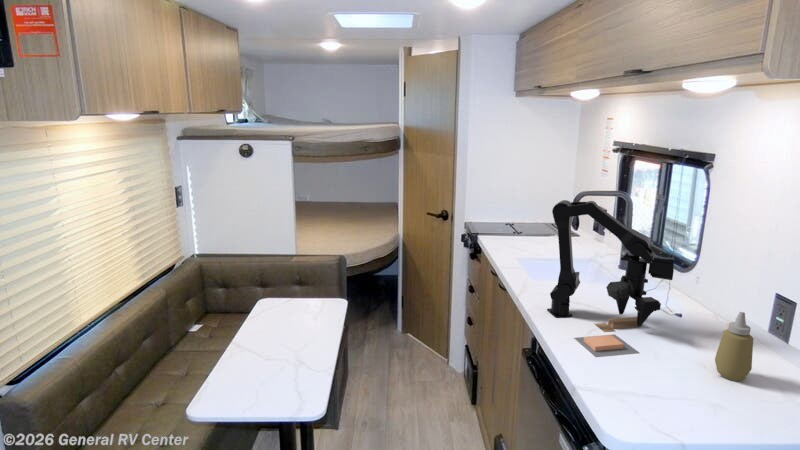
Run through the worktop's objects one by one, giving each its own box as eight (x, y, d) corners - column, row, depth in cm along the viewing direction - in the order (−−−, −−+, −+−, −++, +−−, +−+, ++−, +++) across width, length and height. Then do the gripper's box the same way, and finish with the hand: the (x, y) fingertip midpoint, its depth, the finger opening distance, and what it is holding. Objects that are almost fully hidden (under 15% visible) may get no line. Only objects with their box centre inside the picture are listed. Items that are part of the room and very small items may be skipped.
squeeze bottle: (705, 370, 127) (715, 309, 123) (726, 365, 129) (737, 304, 125) (735, 386, 119) (747, 321, 115) (756, 380, 122) (769, 316, 118)
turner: (593, 326, 154) (594, 317, 153) (632, 323, 156) (633, 314, 156) (604, 334, 148) (605, 325, 148) (644, 331, 150) (645, 322, 150)
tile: (610, 339, 143) (583, 341, 142) (611, 334, 143) (584, 337, 141) (623, 349, 137) (594, 351, 136) (623, 344, 137) (595, 346, 135)
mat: (573, 339, 144) (573, 337, 144) (614, 336, 147) (614, 334, 146) (595, 359, 133) (595, 357, 133) (639, 354, 135) (640, 353, 135)
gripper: (595, 266, 156) (591, 310, 160) (631, 286, 138) (625, 334, 142) (625, 265, 158) (620, 308, 162) (664, 284, 140) (658, 332, 144)
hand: (629, 320), depth 152 cm, fingers open, 9 cm apart
